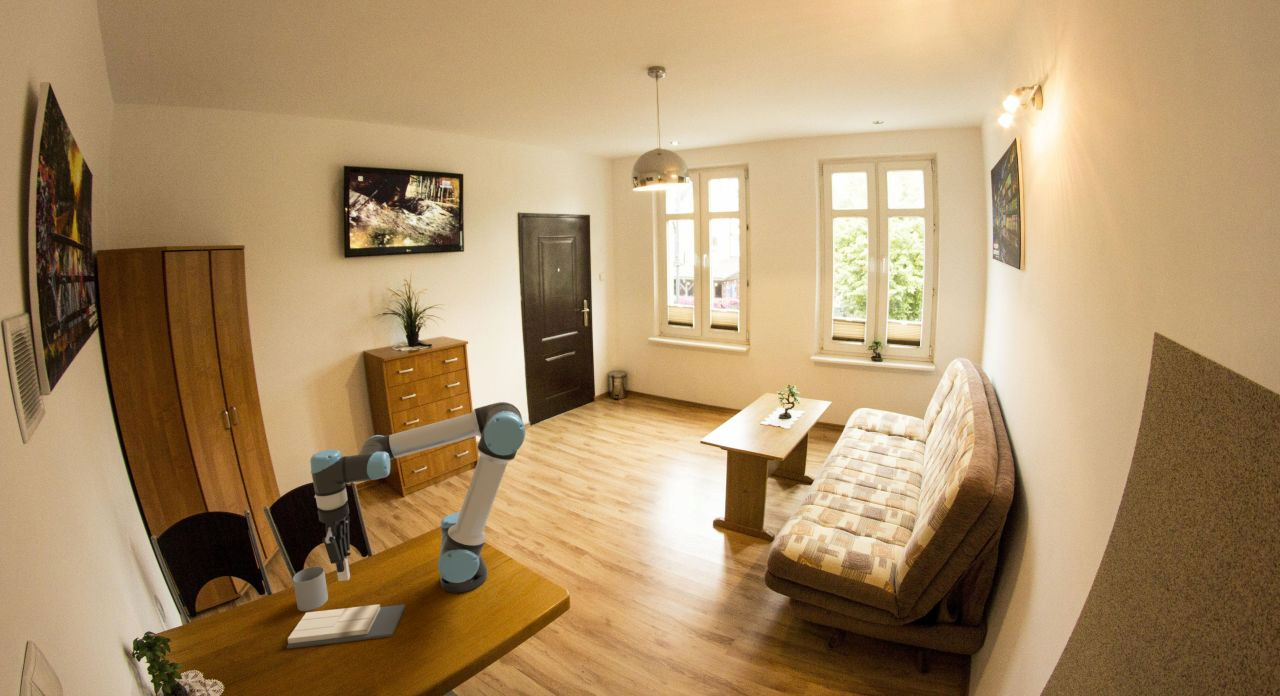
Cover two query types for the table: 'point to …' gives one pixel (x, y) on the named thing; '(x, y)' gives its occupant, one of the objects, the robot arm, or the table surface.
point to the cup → (310, 588)
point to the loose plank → (355, 621)
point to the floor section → (321, 623)
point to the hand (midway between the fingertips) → (344, 579)
